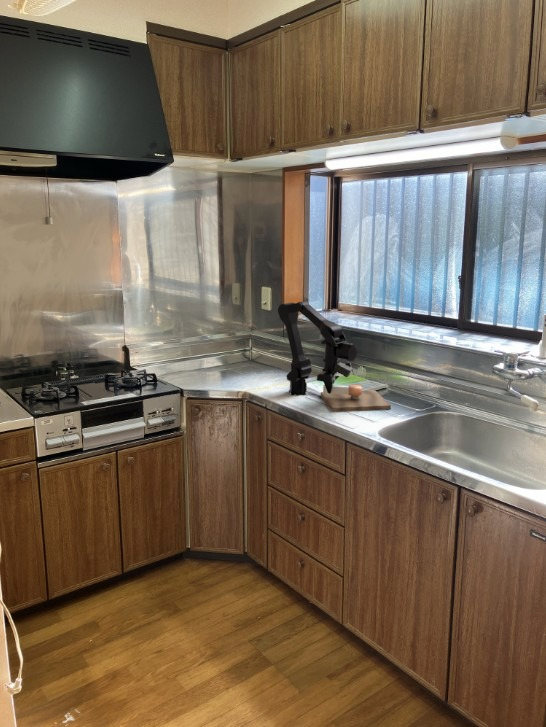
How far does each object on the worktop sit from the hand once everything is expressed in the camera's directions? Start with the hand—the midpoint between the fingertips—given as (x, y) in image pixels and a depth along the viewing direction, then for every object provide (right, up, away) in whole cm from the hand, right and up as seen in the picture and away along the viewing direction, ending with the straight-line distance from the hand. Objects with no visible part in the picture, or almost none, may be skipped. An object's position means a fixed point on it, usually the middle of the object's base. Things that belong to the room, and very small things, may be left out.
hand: (329, 393), depth 245 cm
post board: (+11, -4, +2) cm, 11 cm away
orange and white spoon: (+6, 0, +2) cm, 6 cm away
